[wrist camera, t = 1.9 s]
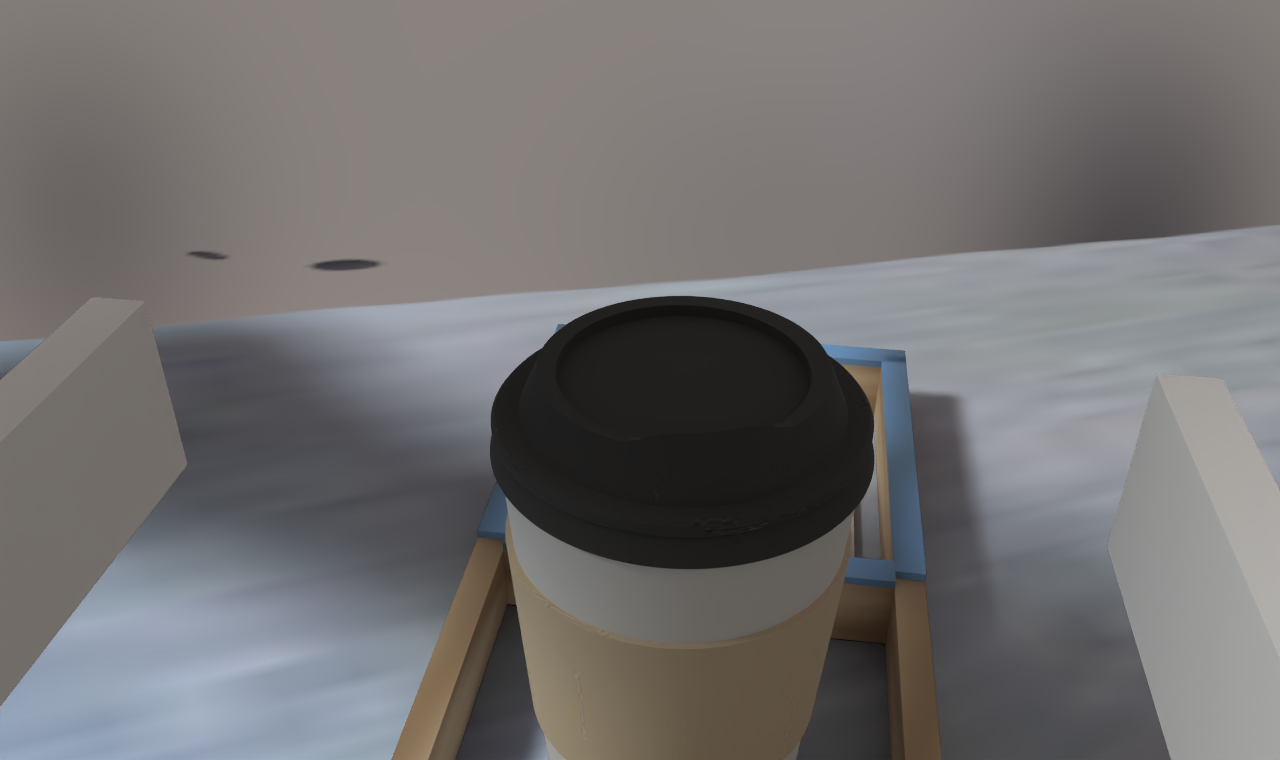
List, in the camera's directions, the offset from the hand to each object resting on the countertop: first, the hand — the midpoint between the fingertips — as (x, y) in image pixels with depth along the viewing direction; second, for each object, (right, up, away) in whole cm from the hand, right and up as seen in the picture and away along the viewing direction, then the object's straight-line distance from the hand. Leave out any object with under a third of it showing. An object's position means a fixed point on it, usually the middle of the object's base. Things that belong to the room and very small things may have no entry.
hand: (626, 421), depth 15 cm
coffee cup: (+1, -11, +19) cm, 22 cm away
